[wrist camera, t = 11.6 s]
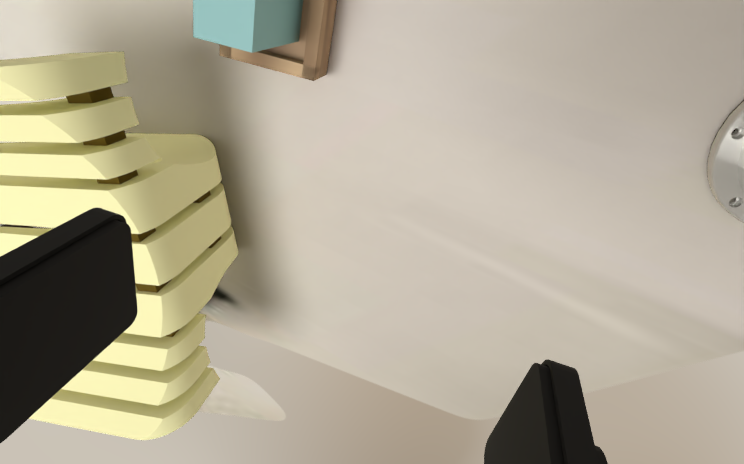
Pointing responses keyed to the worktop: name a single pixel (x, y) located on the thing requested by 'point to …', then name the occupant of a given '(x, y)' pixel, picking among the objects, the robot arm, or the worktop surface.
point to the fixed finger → (248, 22)
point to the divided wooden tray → (298, 45)
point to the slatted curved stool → (148, 231)
